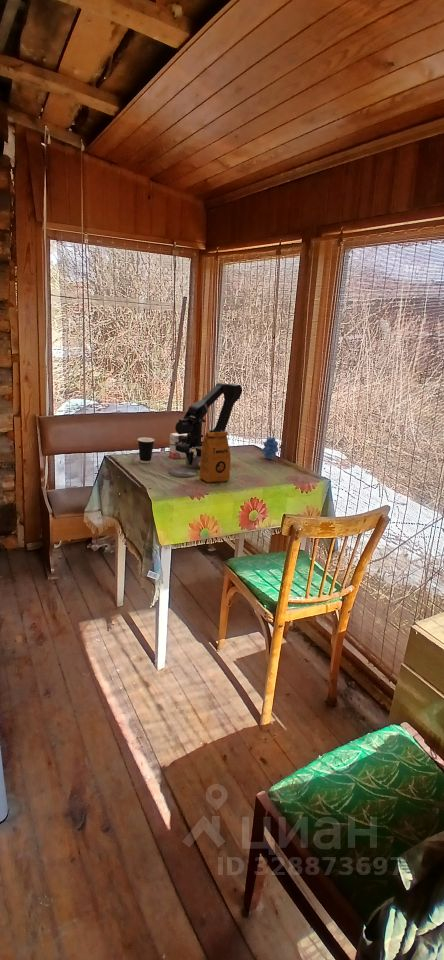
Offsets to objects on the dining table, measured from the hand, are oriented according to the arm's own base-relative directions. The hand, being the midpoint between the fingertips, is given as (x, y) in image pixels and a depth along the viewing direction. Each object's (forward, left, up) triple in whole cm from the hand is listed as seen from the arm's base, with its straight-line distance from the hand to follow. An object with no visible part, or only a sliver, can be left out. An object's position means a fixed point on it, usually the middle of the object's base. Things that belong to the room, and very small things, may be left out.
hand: (193, 464), depth 264 cm
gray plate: (+12, +7, -1) cm, 14 cm away
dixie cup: (+16, -17, -1) cm, 23 cm away
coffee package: (+6, +22, -1) cm, 23 cm away
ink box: (-4, -17, -1) cm, 18 cm away
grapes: (-44, +9, -1) cm, 45 cm away
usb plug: (0, +1, -1) cm, 2 cm away
